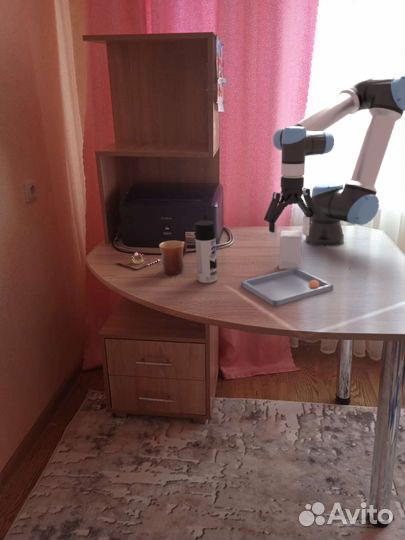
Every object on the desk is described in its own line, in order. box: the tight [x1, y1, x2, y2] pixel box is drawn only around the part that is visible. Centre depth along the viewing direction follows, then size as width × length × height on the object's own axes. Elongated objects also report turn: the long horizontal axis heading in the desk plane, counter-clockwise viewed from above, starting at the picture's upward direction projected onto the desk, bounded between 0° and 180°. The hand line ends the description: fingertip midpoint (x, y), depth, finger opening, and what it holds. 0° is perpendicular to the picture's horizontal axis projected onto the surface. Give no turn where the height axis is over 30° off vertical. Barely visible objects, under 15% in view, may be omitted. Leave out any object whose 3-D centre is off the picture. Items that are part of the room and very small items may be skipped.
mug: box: [158, 240, 187, 276], centre depth 166 cm, size 12×9×10 cm
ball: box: [309, 280, 319, 289], centre depth 145 cm, size 3×3×3 cm
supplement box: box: [278, 230, 303, 270], centre depth 164 cm, size 7×7×13 cm
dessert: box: [132, 251, 161, 266], centre depth 176 cm, size 12×12×5 cm
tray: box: [240, 267, 334, 307], centre depth 148 cm, size 22×18×2 cm
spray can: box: [194, 220, 218, 284], centre depth 155 cm, size 7×7×20 cm
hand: (289, 237), depth 162 cm, fingers open, 13 cm apart
